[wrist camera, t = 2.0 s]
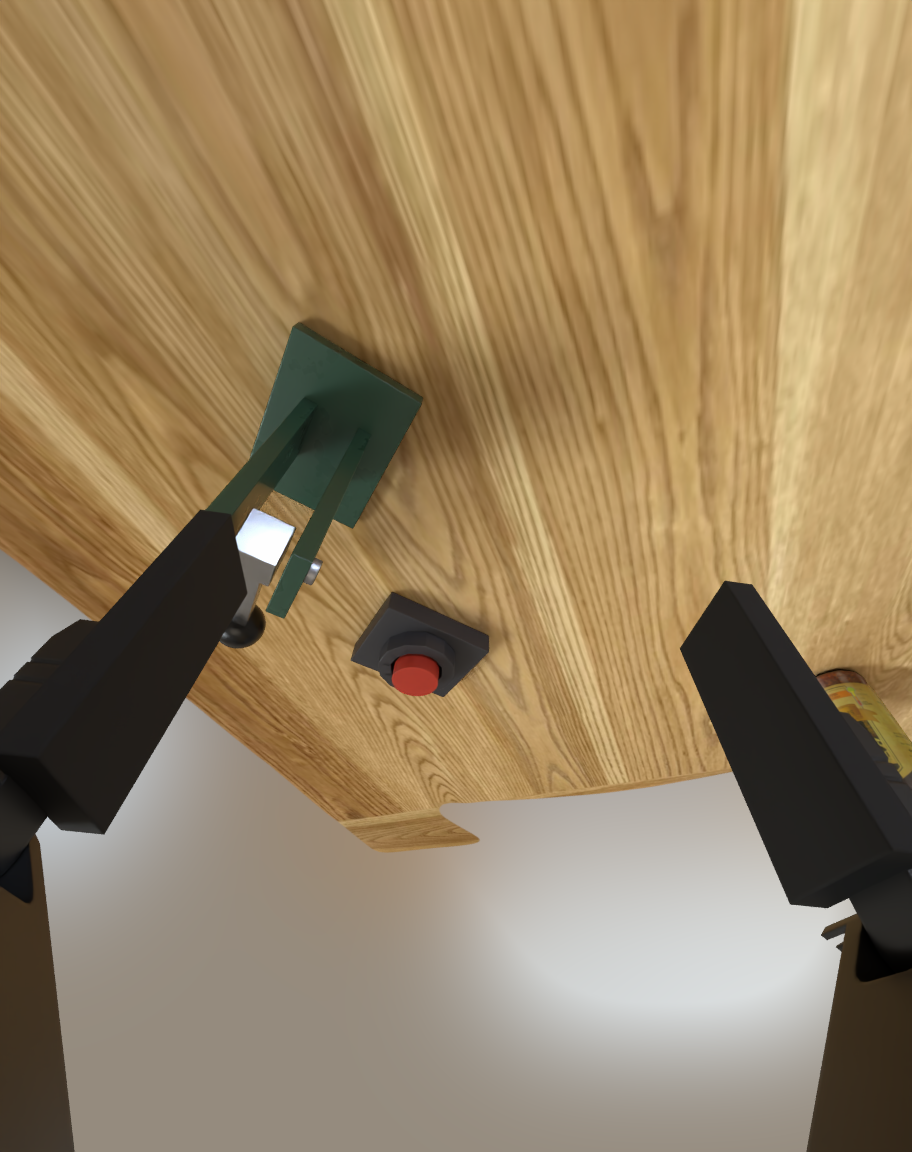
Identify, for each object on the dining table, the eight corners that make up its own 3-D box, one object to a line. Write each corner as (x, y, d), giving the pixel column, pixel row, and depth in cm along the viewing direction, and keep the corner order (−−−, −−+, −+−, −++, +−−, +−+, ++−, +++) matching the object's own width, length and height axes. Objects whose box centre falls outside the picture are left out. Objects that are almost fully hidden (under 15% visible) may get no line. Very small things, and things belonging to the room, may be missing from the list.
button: (386, 671, 46) (383, 686, 44) (406, 646, 43) (404, 661, 42) (425, 686, 47) (424, 701, 46) (447, 663, 44) (446, 678, 43)
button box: (354, 644, 49) (346, 674, 46) (391, 591, 44) (384, 621, 41) (444, 681, 52) (442, 711, 49) (489, 635, 47) (489, 666, 44)
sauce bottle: (822, 662, 47) (983, 887, 32) (876, 672, 48) (1060, 898, 33) (780, 699, 51) (905, 913, 36) (831, 707, 52) (975, 922, 37)
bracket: (356, 521, 39) (297, 671, 27) (249, 468, 36) (130, 609, 24) (423, 397, 32) (386, 524, 20) (298, 321, 29) (167, 414, 17)
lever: (270, 619, 37) (250, 660, 36) (225, 601, 36) (202, 642, 35) (314, 524, 23) (284, 583, 22) (244, 490, 22) (206, 550, 21)
